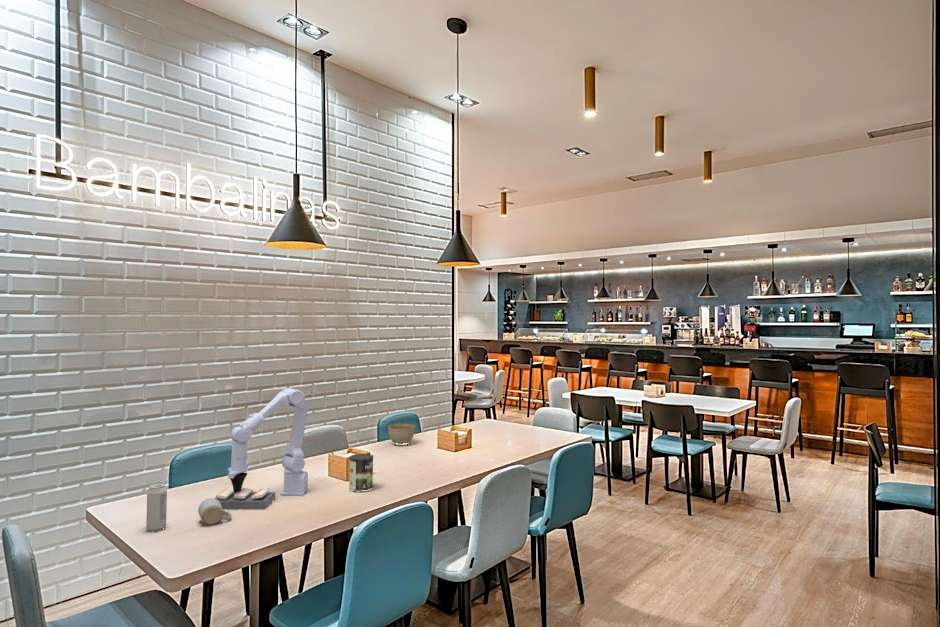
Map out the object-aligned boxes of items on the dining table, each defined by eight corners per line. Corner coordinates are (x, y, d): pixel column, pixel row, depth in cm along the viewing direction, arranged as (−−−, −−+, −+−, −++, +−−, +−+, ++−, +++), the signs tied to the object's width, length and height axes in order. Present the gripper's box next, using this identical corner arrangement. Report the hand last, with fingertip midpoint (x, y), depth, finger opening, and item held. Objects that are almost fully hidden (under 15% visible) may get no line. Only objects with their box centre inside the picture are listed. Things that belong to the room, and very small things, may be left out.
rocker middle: (252, 492, 221) (253, 489, 221) (244, 499, 212) (244, 496, 212) (242, 490, 221) (243, 487, 221) (233, 498, 212) (234, 494, 212)
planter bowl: (383, 446, 320) (383, 427, 320) (395, 440, 335) (395, 422, 335) (408, 448, 315) (408, 429, 315) (419, 442, 330) (419, 424, 330)
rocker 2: (270, 490, 221) (269, 487, 221) (262, 497, 212) (261, 494, 212) (260, 492, 221) (259, 489, 221) (252, 499, 212) (251, 496, 212)
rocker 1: (235, 492, 221) (235, 489, 221) (225, 499, 212) (226, 496, 212) (225, 490, 221) (226, 487, 221) (215, 497, 212) (216, 494, 212)
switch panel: (275, 499, 223) (275, 491, 223) (264, 509, 211) (264, 501, 211) (223, 499, 222) (223, 491, 222) (209, 509, 210) (209, 501, 210)
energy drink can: (151, 525, 193) (152, 483, 193) (169, 525, 193) (170, 483, 193) (142, 532, 187) (143, 488, 187) (161, 532, 187) (161, 488, 187)
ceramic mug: (201, 527, 191) (202, 505, 191) (197, 520, 198) (198, 499, 198) (233, 522, 197) (234, 501, 197) (229, 515, 204) (229, 495, 204)
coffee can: (377, 486, 241) (377, 454, 241) (365, 493, 231) (365, 460, 231) (356, 484, 244) (357, 452, 244) (344, 491, 234) (344, 458, 235)
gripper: (236, 453, 224) (234, 486, 223) (221, 461, 209) (218, 497, 209) (253, 453, 224) (251, 487, 224) (239, 462, 210) (237, 497, 209)
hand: (237, 492), depth 216 cm, fingers closed, pressing on rocker middle
